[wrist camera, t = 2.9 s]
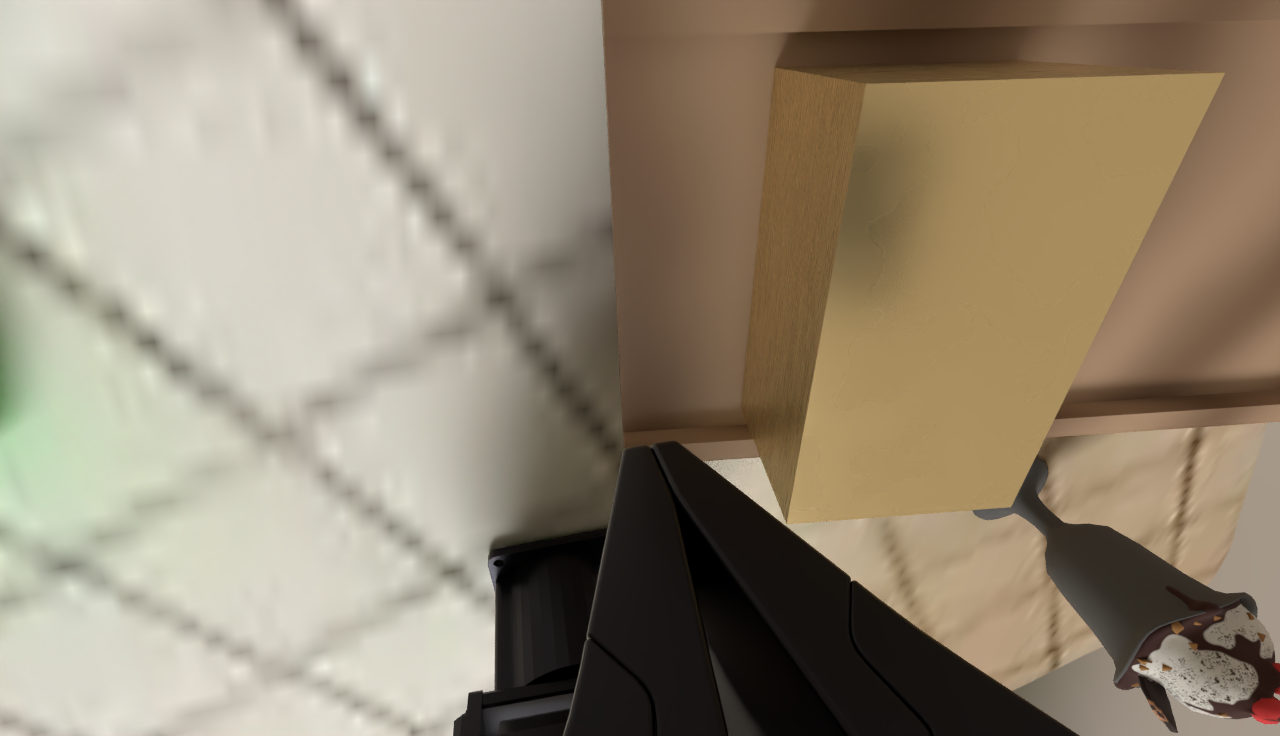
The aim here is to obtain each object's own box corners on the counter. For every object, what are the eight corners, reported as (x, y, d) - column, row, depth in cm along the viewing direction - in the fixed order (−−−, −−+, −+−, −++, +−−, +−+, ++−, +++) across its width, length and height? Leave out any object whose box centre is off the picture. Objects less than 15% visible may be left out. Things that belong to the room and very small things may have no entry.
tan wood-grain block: (740, 408, 18) (786, 523, 14) (774, 67, 13) (866, 83, 8) (913, 397, 18) (1011, 506, 14) (1017, 60, 13) (1225, 72, 9)
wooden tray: (622, 430, 21) (628, 510, 17) (598, -41, 13) (601, -69, 9) (1249, 390, 22) (1371, 456, 19) (1568, -59, 14) (1880, -89, 11)
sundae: (1071, 430, 31) (1463, 700, 18) (1045, 508, 34) (1354, 776, 22) (967, 464, 30) (1296, 765, 18) (951, 539, 34) (1213, 832, 21)
